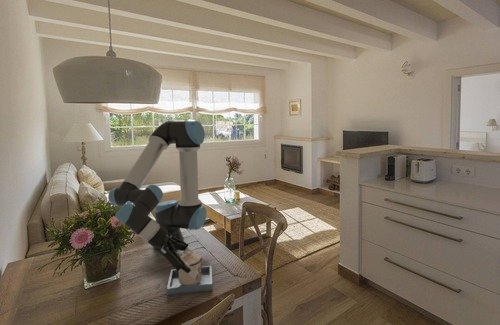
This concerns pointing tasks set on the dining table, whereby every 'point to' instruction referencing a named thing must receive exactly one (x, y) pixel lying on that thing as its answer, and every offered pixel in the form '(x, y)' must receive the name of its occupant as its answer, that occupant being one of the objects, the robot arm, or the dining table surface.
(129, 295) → the dining table surface
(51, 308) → the dining table surface
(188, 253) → the teacup with lid
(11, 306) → the dining table surface
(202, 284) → the slate tray
